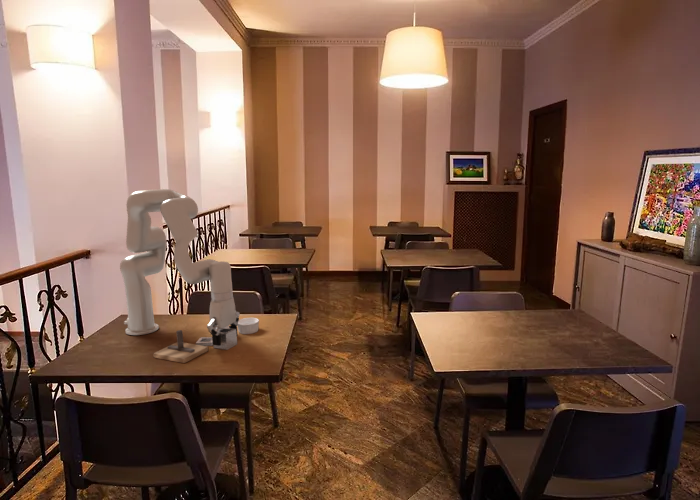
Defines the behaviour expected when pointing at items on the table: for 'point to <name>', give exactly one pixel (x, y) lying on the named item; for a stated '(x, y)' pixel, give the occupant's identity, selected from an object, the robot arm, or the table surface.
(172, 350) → the base
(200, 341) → the link
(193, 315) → the table surface
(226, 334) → the link
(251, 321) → the ramekin
